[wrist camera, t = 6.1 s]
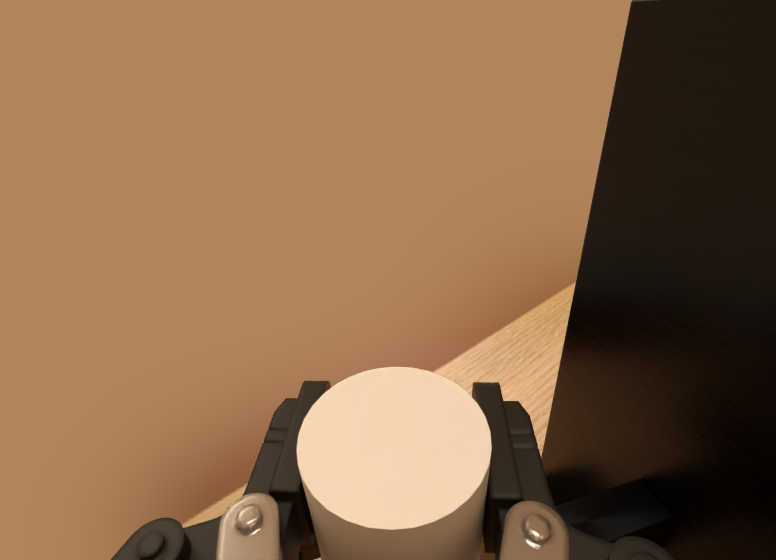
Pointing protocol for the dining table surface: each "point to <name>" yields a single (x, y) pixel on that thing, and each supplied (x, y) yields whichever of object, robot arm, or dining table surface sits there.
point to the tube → (396, 468)
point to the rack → (676, 296)
